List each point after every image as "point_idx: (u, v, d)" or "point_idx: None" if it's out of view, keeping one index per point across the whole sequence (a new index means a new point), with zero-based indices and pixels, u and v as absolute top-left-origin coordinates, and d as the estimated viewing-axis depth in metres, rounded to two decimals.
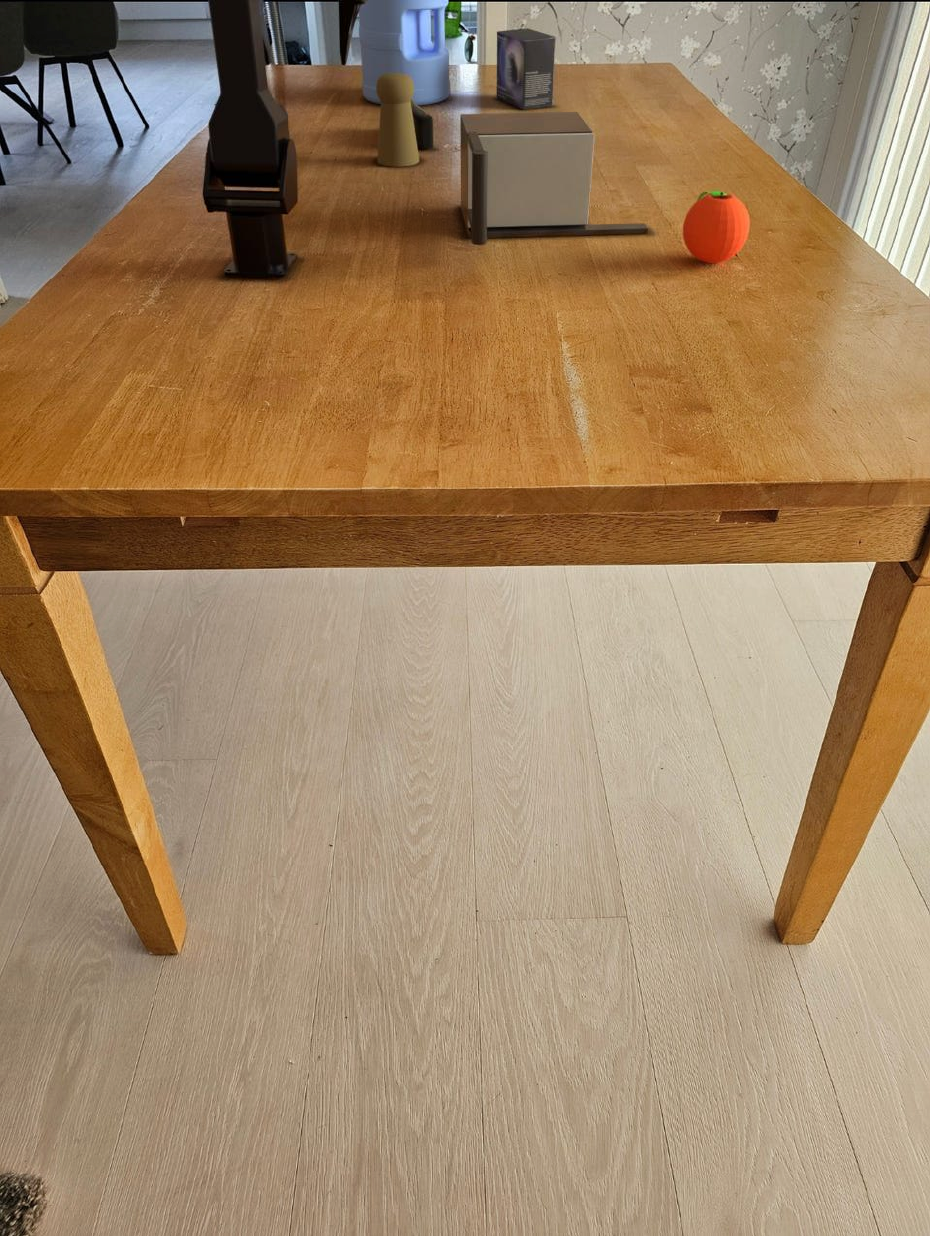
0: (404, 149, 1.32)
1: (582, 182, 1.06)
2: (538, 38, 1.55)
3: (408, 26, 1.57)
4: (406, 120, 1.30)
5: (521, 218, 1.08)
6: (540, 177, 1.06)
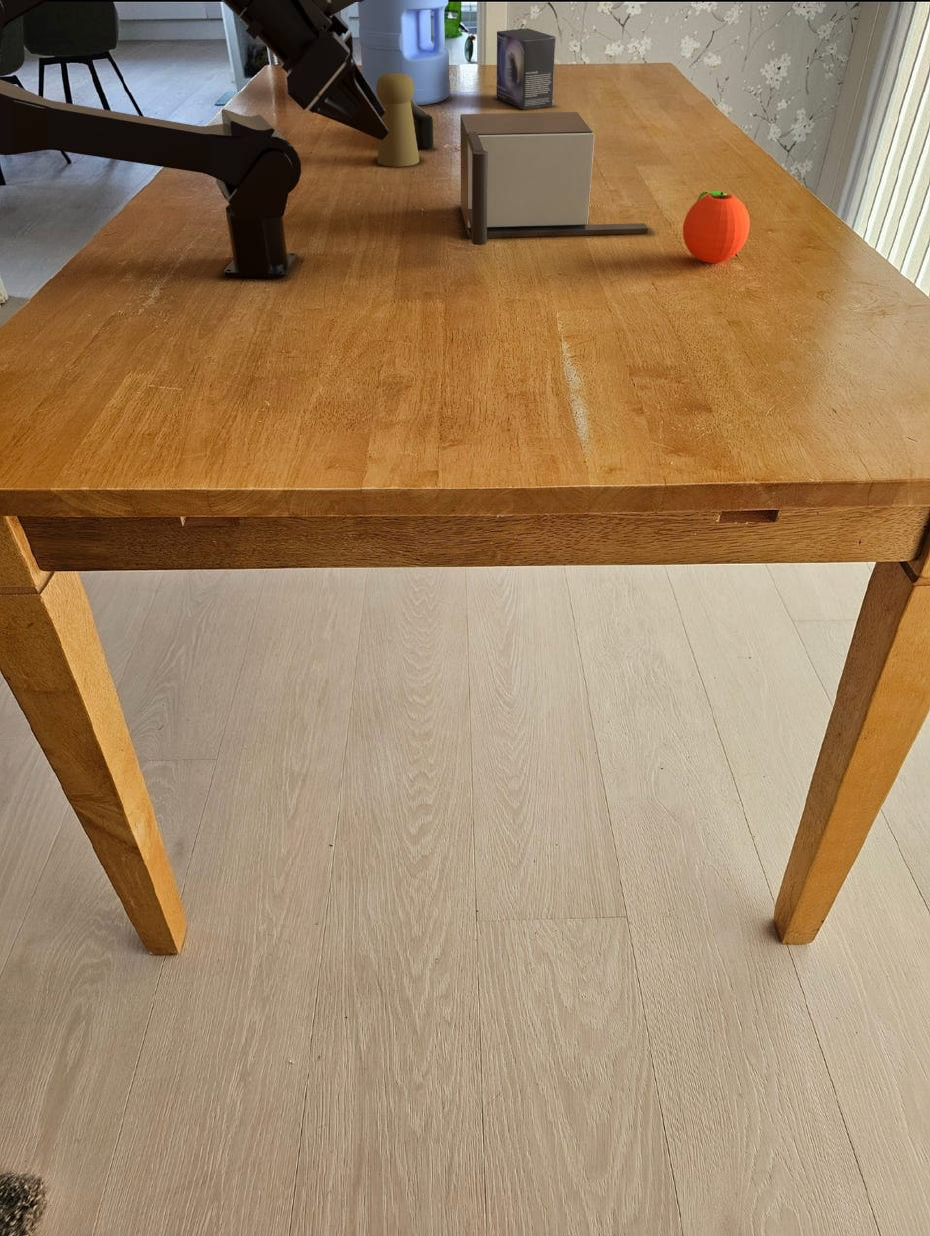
0: (404, 149, 1.32)
1: (582, 182, 1.06)
2: (538, 38, 1.55)
3: (408, 26, 1.57)
4: (406, 120, 1.30)
5: (521, 218, 1.08)
6: (540, 177, 1.06)
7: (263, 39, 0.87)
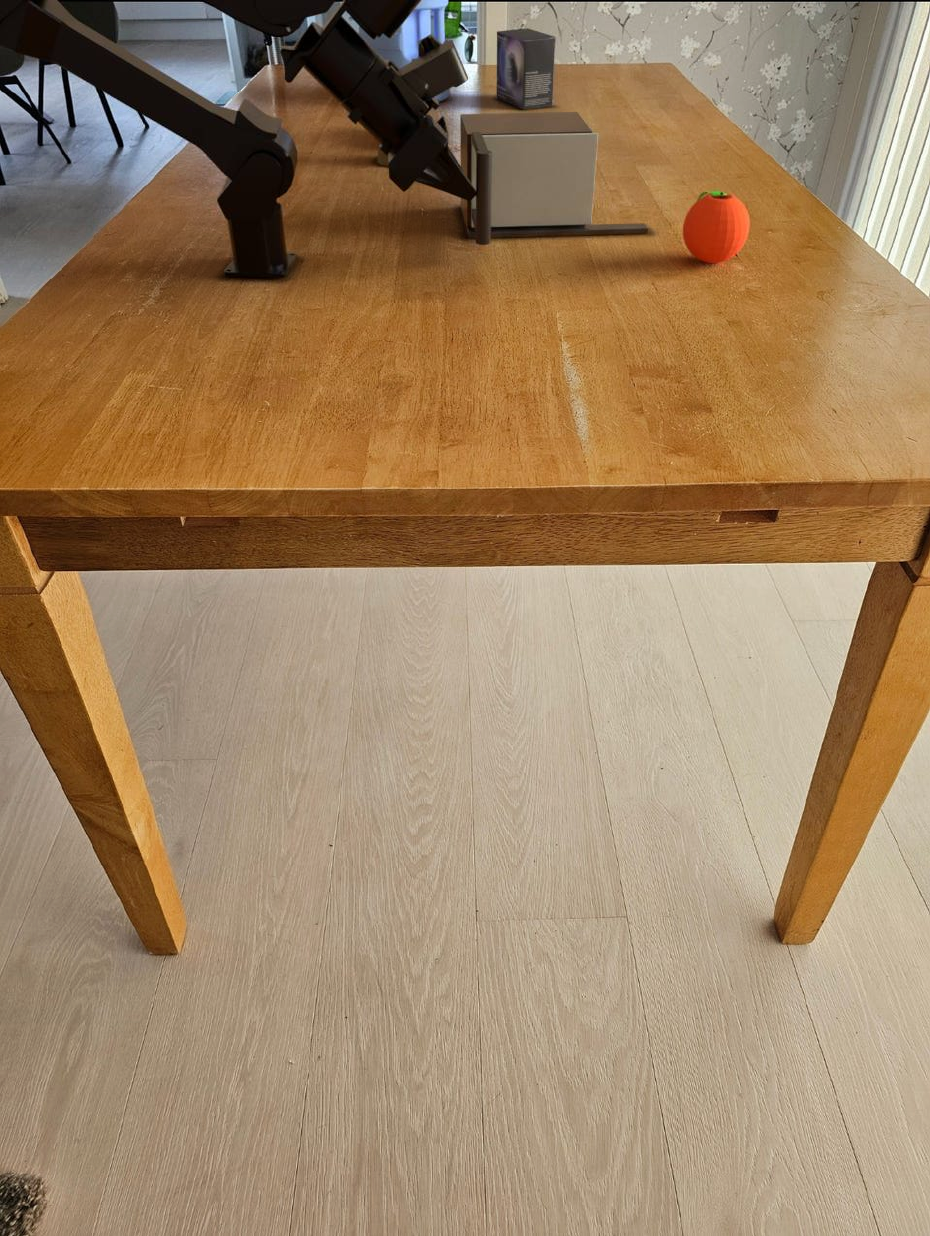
0: None
1: (586, 182, 1.06)
2: (538, 38, 1.55)
3: (408, 26, 1.57)
4: None
5: (525, 218, 1.08)
6: (544, 177, 1.06)
7: (363, 123, 0.92)
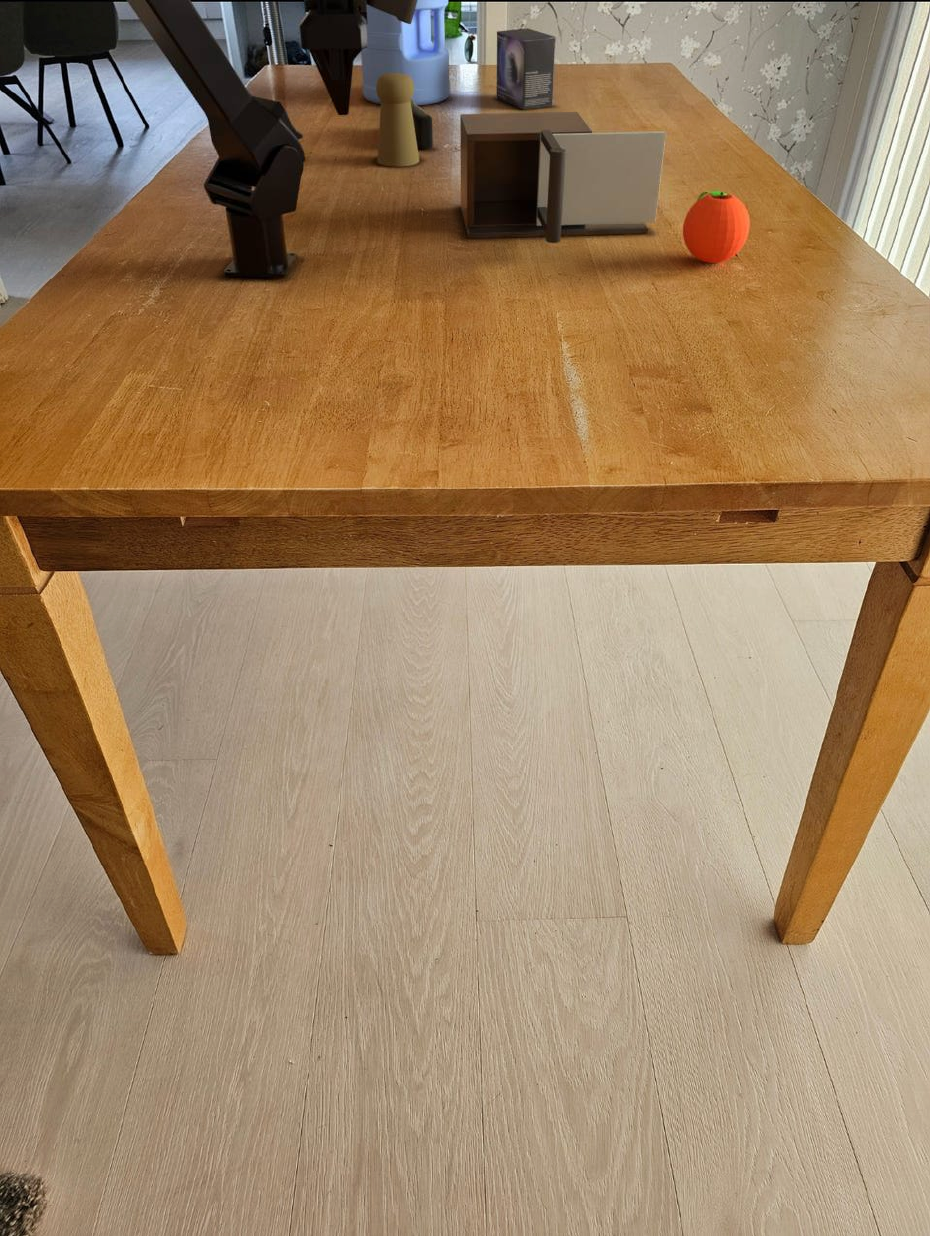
0: (404, 149, 1.32)
1: (652, 180, 1.07)
2: (538, 38, 1.55)
3: (408, 26, 1.57)
4: (406, 120, 1.30)
5: (590, 216, 1.09)
6: (610, 175, 1.06)
7: None
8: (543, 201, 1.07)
